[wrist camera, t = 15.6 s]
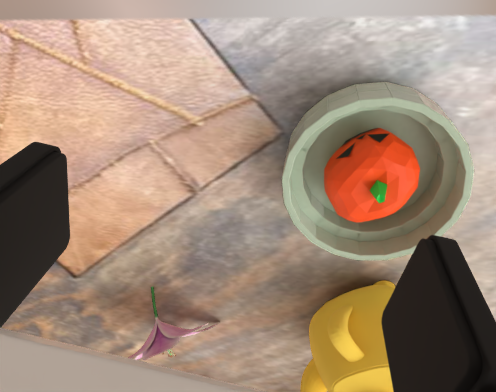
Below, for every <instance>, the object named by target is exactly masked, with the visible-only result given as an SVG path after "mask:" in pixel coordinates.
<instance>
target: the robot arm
mask: <svg viewBox="0 0 496 392" xmlns="http://www.w3.org/2000/svg"><path fill="white" fill-rule="evenodd" d="M69 239H70V226H69V203H68V179H67V159H66V156H65V155H64V154H62V153H61V151H60V149H59V148H58V147H56V146H52V145H48V144H43V143H39V142H33V143H31V144H30V145H28V146H27V147H25V148H24V149H23V150H21V151H20V152H18V153H17V154H15V155H14V156H12V157H11V158H10V159H8V160H7V161H5V162H4V163H2V164H1V165H0V392H266V391H262V390H258V389H254V388H250V387H245V386H241V385H237V384H233V383H229V382H225V381H221V380H217V379H213V378H209V377H204V376H200V375H196V374H192V373H188V372H184V371H180V370H176V369H172V368H167V367H163V366H159V365H155V364H151V363H147V362H143V361H138V360H134V359H130V358H126V357H122V356H118V355H114V354H109V353H105V352H101V351H97V350H93V349H88V348H84V347H80V346H76V345H71V344H67V343H63V342H59V341H55V340H50V339H46V338H42V337H38V336H34V335H29V334H25V333H21V332H17V331H12V330H8V329H4V328H1V327H2V325H3V324H4V323H5V322H6V321H7V319H8V318H9V317H10V316H11V314H12V313H13V312H14V311H15V310H16V308H17V307H18V306H19V305H20V304H21V302H22V301H23V300H24V299H25V298H26V296H27V295H28V294H29V293H30V291H31V290H32V289H33V288H34V287H35V285H36V284H37V283H38V282H39V281H40V279H41V278H42V277H43V276H44V275H45V273H46V272H47V271H48V270H49V268H50V267H51V266H52V265H53V264H54V262H55V261H56V260H57V259H58V258H59V256H60V255H61V254H62V253H63V252H64V250H65V249H66V247H67V245H68V243H69ZM381 323H382V330H383V336H384V341H385V347H386V352H387V358H388V363H389V369H390V375H391V380H392V386H393V391H394V392H496V322H495V320H494V318H493V315H492V313H491V311H490V309H489V307H488V305H487V303H486V301H485V299H484V297H483V295H482V293H481V291H480V289H479V287H478V285H477V283H476V281H475V278H474V276H473V274H472V272H471V270H470V268H469V266H468V264H467V262H466V260H465V258H464V256H463V254H462V252H461V250H460V248H459V246H458V244H457V242H456V241H455V240H453V239H448V238H444V237H440V236H436V235H430V236H429V237H428V238H427V239H424V238H423V239H421V240H420V241H419V242H418V244H417V246H416V248H415V250H414V252H413V254H412V256H411V258H410V260H409V262H408V264H407V266H406V268H405V270H404V272H403V274H402V276H401V278H400V280H399V282H398V283H397V285H396V287H395V289H394V291H393V293H392V295H391V297H390V299H389V301H388V303H387V305H386V307H385V309H384V311H383V314H382V321H381Z"/></svg>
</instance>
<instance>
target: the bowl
mask: <svg viewBox="0 0 496 392" xmlns="http://www.w3.org/2000/svg"><path fill="white" fill-rule="evenodd" d="M374 128H382V129H384V130H387V131H389V132H391V133H392V134H394V135H395V136H397V137H398V138H400V139H401V140H402V141H404V142H405V143H406V144H408V145H409V146H410V147H412V149H413V151H414V153H415V156H416V158H417V160H418V164H419V167H420V173H419V181H418V188H417V189H416V190H415V192H414V193H413V194H412V196H411V197H410V198H409V200H408V201H407V202H406V203H405V205H404V206H403V207H401V208H400V209H399V210H398V211H396V212H395V213H393V214H391V215H389V216H386V217H383V218H379V219H374V220H370V221H365V222H357V223H356V222H352V221H349V220H347V219H345V218H343V217H341V216H339V215H338V214H337V213H336V211H335V209H334V207H333V206H332V204H331V202H330V200H329V198H328V196H327V194H326V192H325V187H324V169H325V167H326V165H327V163H328V161H329V159H330V158H331V157H332V155H333V154H334V153H335V152H336V151H337V150H338V149H339V148H340V147H341V146H342V145H343V144H344V142H345V141H346V140H348V139H350V138H352V137H354V136H356V135H357V134H359V133H362V132H365V131H368V130H371V129H374ZM360 135H361V134H360ZM473 176H474V167H473V163H472V158H471V154H470V150H469V146H468V144H467V142H466V141H465V139H464V138H463V137H462V135H461V134H460V133H459V131H458V130H457V129H456V127H455V126H454V125H453V123H452V122H451V121H450V119H449V118H448V117H447V115H446V114H445V113H444V112H443V110H442V109H441V108H440V107H439V105H438V104H437V103H436V102H434V101H433V100H431V99H429V98H428V97H426V96H425V95H423V94H422V93H420V92H418V91H417V90H415V89H413V88H410V87H406V86H401V85H397V84H393V83H388V82H376V83H364V84H355V85H352V86H349V87H347V88H344V89H342V90H339V91H337V92H334V93H332V94H329V95H328V96H326V97H325V98H323V99H322V100H321V101H320V102H318V103H317V104H316V105H315V106H313V107H312V108H311V109H310V110H308V111H307V112H306V113H305V114H304V116H303V117H302V119H301V120H300V122H299V123H298V125H297V126H296V128H295V129H294V131H293V132H292V134H291V137H290V141H289V144H288V148H287V152H286V156H285V161H284V168H283V174H282V189H283V199H284V205H285V207H286V209H287V211H288V213H289V215H290V217H291V219H292V221H293V223H294V225H295V226H296V227H297V228H298V229H299V230H300V231H301V232H302V233H303V234H304V235H305V236H306V237H307V238H308V239H309V240H310V241H311V242H312V243H313V244H315V245H317V246H319V247H321V248H322V249H324V250H326V251H328V252H330V253H331V254H334V255H337V256H341V257H346V258H350V259H354V260H358V261H368V260H390V259H394V258H398V257H401V256H405V255H409V254H413V252H414V250H415V248H416V246H417V244H418V242H419V241H420V240H421V239H423V238H424V239H427V238H428V237H429V236H430V235H436V236H440V237H441V236H442V235H443V234H444V233H445V232H446V231H447V230H448V229H450V228H451V227H452V226H453V225H454V224H455V223H456V222H457V220H458V219H459V217H460V215H461V213H462V212H463V210H464V208H465V206H466V204H467V202H468V201H469V199H470V196H471V190H472V183H473Z"/></svg>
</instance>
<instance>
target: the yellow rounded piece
mask: <svg viewBox="0 0 496 392" xmlns="http://www.w3.org/2000/svg"><path fill="white" fill-rule="evenodd" d="M394 289H395V285H394V284H393V283H392V282H390V281H385V280H383V281H378V282H376V283H375V284H374V285H371V286H366V287H362V288H359V289H355V290H352V291H350V292H347V293H345V294H342V295H340V296H338V297H336V298H334V299H332V300H330V301H328V302H326V303H325V304H324V305H323V306H322V307H321V308H320V309H319V310H318V311H317V312H316V313H315V314H314V316H313V317H312V320H311V322H310V325H309V339H310V346H311V351H312V356H313V359H312V360H311V361H310V362H309V364H308V365H307V367H306V368H305V370H304V373H303V376H302V380H301V390H300V392H327V391H328V392H394V391H393V386H392V380H391V375H390V369H389V363H388V358H387V352H386V347H385V341H384V336H383V330H382V323H381V321H382V314H383V311H384V309H385V307H386V305H387V303H388V301H389V299H390V297H391V295H392V293H393V291H394Z"/></svg>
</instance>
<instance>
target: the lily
mask: <svg viewBox="0 0 496 392" xmlns="http://www.w3.org/2000/svg"><path fill="white" fill-rule="evenodd" d="M151 292H152V302H153V309H154V314H155V325H154V328H153V330H152V332H151V334H150V335H149V337H148V339H147V341H146V342H145V344H144V345H143V346H142V348H141V349H140V350H139V351H137V352H136V353H135V354H133V355H132V356H130V357H128V358H130V359H132V358H134V357H136V356H137V357H136V358H135V359H134V360H138V359H140V358H142V359H143V360H147V359H149V358H151V357H153V356H155V355H158V354H160V353H164V352H165V351H168V355H169V354H170V356H171V357H172V355H171V352H172V350H171V348H173V347H174V346H176V345H177V344H178V342H179V340H180V337H184V336H190V335H193V334H197V333H199V332H202V331H205V330H208V329H210V328H212V327H214V326H216V325H217V324H219V323H220V322H219V323H217V324H215V325H213V326H211V327H208V328H206V329H204V330H201V331H198V332H193V331H195V330H197V329H199V328H201V327H203V326H205V325H207V324H208V323H207V324H205V325H202V326H200V327H197V328H195V329H184V328H180V327H177V326H173V325H170V324H167V323H164V322H162V321H160V320H159V319H158V315H157V310H156V304H155V296H154V287H151ZM169 349H170V350H171V351H170V350H169ZM172 353H173V352H172ZM173 354H174V353H173ZM174 355H175V354H174ZM175 356H176V355H175Z"/></svg>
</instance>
